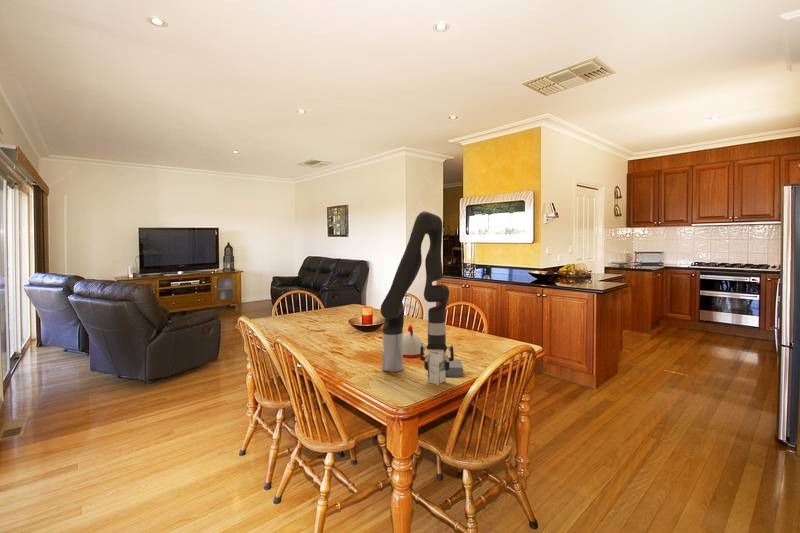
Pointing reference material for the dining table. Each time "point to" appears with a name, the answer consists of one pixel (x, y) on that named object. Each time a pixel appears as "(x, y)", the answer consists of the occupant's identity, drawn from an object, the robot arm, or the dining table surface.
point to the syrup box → (436, 367)
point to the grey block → (455, 368)
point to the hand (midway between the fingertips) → (436, 370)
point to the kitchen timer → (411, 344)
